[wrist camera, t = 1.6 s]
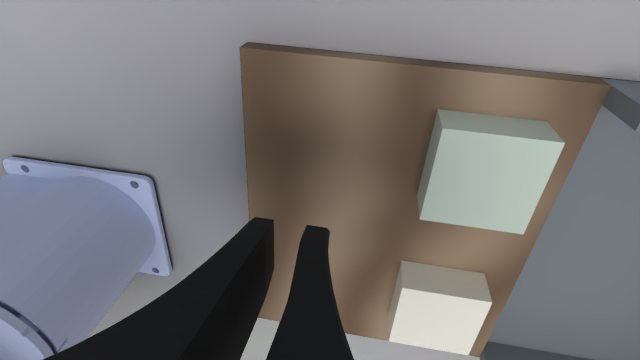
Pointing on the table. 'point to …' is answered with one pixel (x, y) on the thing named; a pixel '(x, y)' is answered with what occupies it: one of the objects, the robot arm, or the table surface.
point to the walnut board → (386, 167)
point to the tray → (584, 253)
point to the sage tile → (486, 170)
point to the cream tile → (438, 307)
